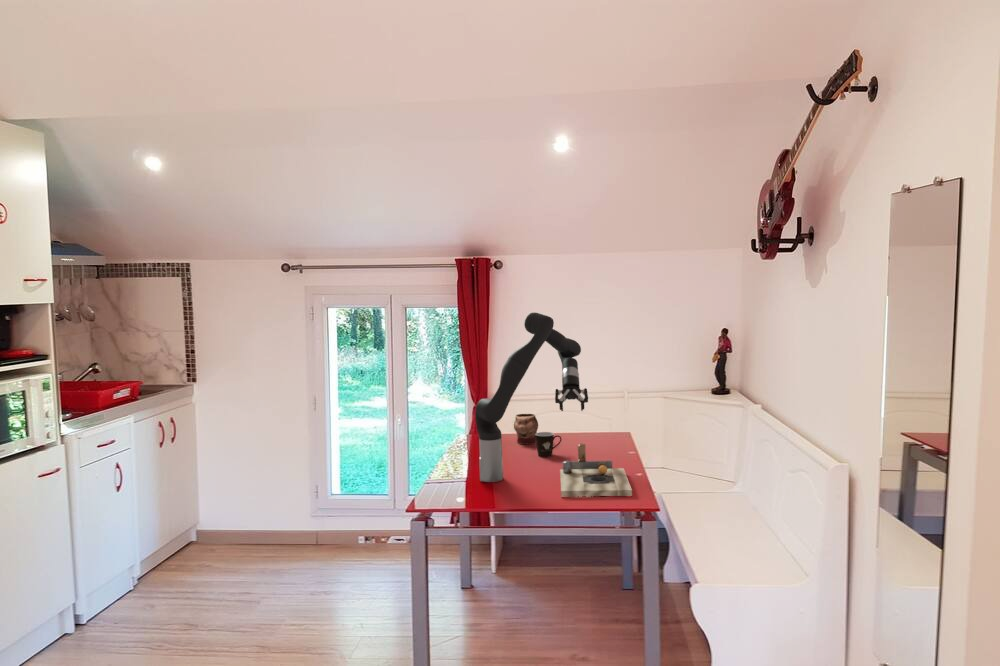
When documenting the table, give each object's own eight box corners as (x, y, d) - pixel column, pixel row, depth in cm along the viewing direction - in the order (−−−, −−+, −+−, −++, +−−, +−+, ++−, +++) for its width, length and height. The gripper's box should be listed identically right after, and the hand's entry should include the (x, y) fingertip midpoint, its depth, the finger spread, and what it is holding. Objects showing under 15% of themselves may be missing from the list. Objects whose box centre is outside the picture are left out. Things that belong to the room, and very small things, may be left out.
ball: (598, 475, 264) (598, 466, 263) (598, 472, 267) (597, 464, 267) (607, 475, 263) (607, 466, 263) (607, 472, 267) (606, 464, 266)
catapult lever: (563, 473, 267) (562, 446, 266) (563, 471, 271) (562, 443, 270) (612, 472, 266) (612, 445, 265) (612, 470, 269) (611, 442, 268)
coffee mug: (534, 457, 303) (533, 436, 302) (537, 452, 311) (536, 431, 310) (559, 458, 300) (558, 436, 299) (562, 453, 308) (561, 432, 308)
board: (561, 497, 246) (561, 491, 246) (560, 475, 274) (560, 469, 274) (632, 496, 244) (631, 489, 244) (623, 474, 272) (623, 468, 272)
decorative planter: (516, 437, 344) (515, 410, 343) (539, 436, 342) (538, 410, 341) (512, 446, 324) (511, 418, 323) (537, 446, 323) (536, 418, 322)
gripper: (554, 374, 293) (555, 405, 282) (586, 373, 291) (589, 404, 281) (554, 384, 298) (555, 415, 288) (586, 383, 297) (588, 414, 287)
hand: (572, 410), depth 284 cm, fingers open, 8 cm apart
